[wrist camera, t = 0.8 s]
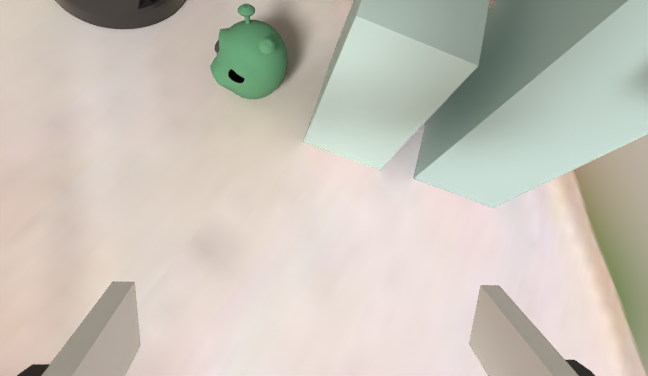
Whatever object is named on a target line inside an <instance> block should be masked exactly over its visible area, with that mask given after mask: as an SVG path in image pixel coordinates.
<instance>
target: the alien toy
mask: <svg viewBox="0 0 648 376" xmlns="http://www.w3.org/2000/svg"><path fill="white" fill-rule="evenodd" d="M238 13H239V14H240V15H242V16H244V17H245V20H244V21H241V22H238V23H236V24H234V25H233V26H232V27H230V28H228V29H220V33H219V40H218V41H217V43H216V45H215V51H216V52H217V56H216V58H215V59H214V61H213V62H212V64H211V71H212V74H213V77H214V78H215V79H216V81H217V82H218V84H220V85H222V86H223V87H225V88H227V89H229V90H231V91H233V92H234V93H236V94H237V95H239V96H241V97H243V98H247V99H258V98H263V97H265V96H267V95H269V94H271V93H272V92H273V91H274V90H275V89H277V88H278V86H279V85H280V83H281V82H282V80H283V78H284V76H285V72H286V68H287V52H286V48H285V45H284V43H283V40H282V38H281V37H280V35H279V34H278V33H277V31H276V30H275V29H273V28H272V27H271V26H270V25H268V24H266V23H264V22H261V21H258V20H250V16H251V15H253V14H254V13H255V8H254V7H253V6H252V5H249V4H243V5H241V6H240V7H239V8H238Z"/></svg>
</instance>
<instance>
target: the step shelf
mask: <svg viewBox="0 0 648 376" xmlns="http://www.w3.org/2000/svg"><path fill="white" fill-rule="evenodd" d="M489 1H490V0H354V2H353V4H352V7H351V10H350V12H349V15H348V17H347V20H346V22H345V25H344V27H343V30H342V32H341V35H340V37H339V40H338V43H337V46H336V49H335V52H334V55H333V58H332V60H331V63H330V66H329V69H328V72H327V75H326V78H325V81H324V84H323V86H322V89H321V92H320V95H319V98H318V101H317V104H316V107H315V110H314V112H313V115H312V118H311V121H310V124H309V127H308V130H307V133H306V136H305V138H304V141H303V142H304V143H307V144H310V145H313V146H315V147H318V148H321V149H323V150H326V151H329V152H331V153H334V154H337V155H340V156H342V157H345V158H348V159H350V160H353V161H356V162H359V163H361V164H364V165H367V166H369V167H372V168H375V169H378V170H381V168H382V167H383V166H384V165H385V164H386V163H387V162H388V161H389V160H390V159H391V158H392V157H393V156H394V155H395V154H396V153H397V152H398V150H399V149H400V148H401V147H402V146H403V145H404V144H405V143H406V142H407V141H408V140H409V139H410V138H411V137H412V136H413V135H414V134H415V132H416V131H417V130H418V129H419V128H420V127H421V126H422V125H423V124H424V123H425V122H426V124H425V129H424V133H423V138H422V142H421V147H420V152H419V156H418V161H417V165H416V170H415V174H414V179H416V180H419V181H421V182H424V183H427V184H430V185H432V186H435V187H438V188H440V189H443V190H446V191H448V192H451V193H454V194H457V195H459V196H462V197H465V198H467V199H470V200H473V201H475V202H478V203H481V204H484V205H486V206H489V207H492V208H494V207H496V206H498V205H501V204H503V203H505V202H507V201H509V200H511V199H513V198H515V197H517V196H519V195H521V194H523V193H526V192H528V191H530V190H532V189H534V188H536V187H538V186H540V185H542V184H544V183H546V182H549V181H551V180H553V179H555V178H557V177H559V176H561V175H563V174H565V173H567V172H569V171H571V170H574V169H576V168H578V167H580V166H582V165H584V164H586V163H588V162H590V161H592V160H594V159H597V158H598V157H601V156H603V155H605V154H607V153H609V152H611V151H613V150H615V149H617V148H619V147H622V146H623V145H626V144H628V143H630V142H632V141H634V140H636V139H638V138H640V137H642V136H645V135H647V134H648V0H497V1H496V2H495V3H494V4H493V5H492V7H491V8H490V9H489V10H488V7H489Z"/></svg>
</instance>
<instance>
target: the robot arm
mask: <svg viewBox="0 0 648 376" xmlns="http://www.w3.org/2000/svg"><path fill="white" fill-rule="evenodd" d="M55 1H56V2H57V3H58V4H59V5H60V6H61V7H62V8H64V9H65V10H66V11H67V12H69V13H70V14H72V15H73V16H75V17H77V18H79V19H81V20H83V21H85V22H88V23H90V24H93V25H97V26H101V27H106V28H113V29H134V28H141V27H145V26H149V25H152V24H155V23H158V22H160V21H162V20H164V19H166V18H168V17H169V16H171V15H172V14H173V13H175V12H176V11H177V10H178V9H179V8H180V7H181V5H182V4H183V3H184V1H185V0H55ZM469 345H470V346H471V348H472V350H473V351H474V353H475V355H476V356H477V358H478V360H479V361H480V363H481V364H482V366H483V368H484V369H485V371H486V373H487V374H488V376H595V375H594V374H593V373H592V372H591V371H590V370H588V369H587V368H585V367H584V366H583V365H581V364H580V363H578V362H577V361H575V360H565V359H564V358H563V357H562V356H561V355H560V354H559V353H558V352H557V350H556V349H555V348H554V347H553V346H552V345H551V344H550V343H549V341H548V340H547V339H546V338H545V337H544V336H543V335H542V333H541V332H540V331H539V330H538V329H537V328H536V327H535V326H534V324H533V323H532V322H531V321H530V320H529V319H528V318H527V316H526V315H525V314H524V313H523V312H522V311H521V310H520V309H519V307H518V306H517V305H516V304H515V303H514V302H513V301H512V300H511V298H510V297H509V296H508V295H507V294H506V293H505V292H504V290H503V289H502V288H501V287H500V286H491V285H481V286H480V291H479V296H478V301H477V306H476V311H475V316H474V321H473V326H472V331H471V336H470V341H469ZM139 347H140V335H139V324H138V313H137V302H136V291H135V282H112V283H111V285H110V286H109V287H108V289H107V290H106V291H105V293H104V294H103V295H102V297H101V298H100V299H99V300H98V302H97V303H96V304H95V306H94V307H93V308H92V310H91V311H90V312H89V314H88V315H87V316H86V318H85V319H84V320H83V322H82V323H81V324H80V326H79V327H78V328H77V330H76V331H75V332H74V334H73V335H72V336H71V337H70V339H69V340H68V341H67V343H66V344H65V345H64V347H63V348H62V349H61V351H60V352H59V353H58V355H57V356H56V357H55V359H54V360H53V361H52V363H51V364H50V365H31V366H30V367H28V368H27V369H26V370H24V371H23V372H21V373H20V374H19V375H17V376H125V375H126V373H127V371H128V369H129V367H130V365H131V363H132V361H133V359H134V357H135V355H136V353H137V351H138V349H139Z"/></svg>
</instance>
